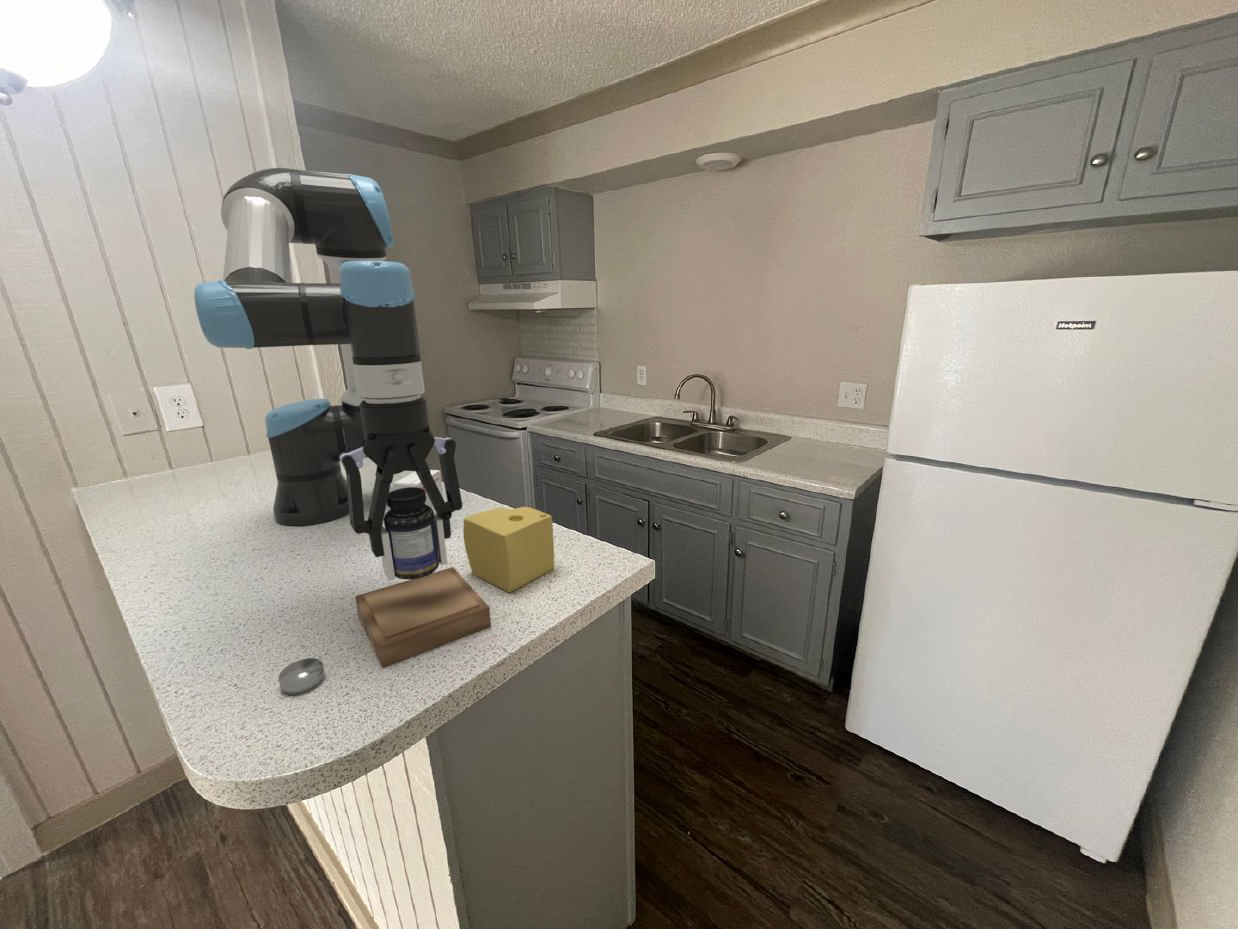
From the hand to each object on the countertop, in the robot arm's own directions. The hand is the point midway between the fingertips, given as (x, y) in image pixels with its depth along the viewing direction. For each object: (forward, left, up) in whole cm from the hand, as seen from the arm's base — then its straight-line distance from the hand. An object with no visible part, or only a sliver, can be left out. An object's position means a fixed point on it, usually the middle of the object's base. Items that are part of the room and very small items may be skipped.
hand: (416, 567), depth 69 cm
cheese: (-5, +16, -9) cm, 19 cm away
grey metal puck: (+4, -15, -9) cm, 18 cm away
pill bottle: (0, 0, -1) cm, 1 cm away
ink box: (-29, +9, -9) cm, 32 cm away
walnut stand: (0, 0, -8) cm, 8 cm away
